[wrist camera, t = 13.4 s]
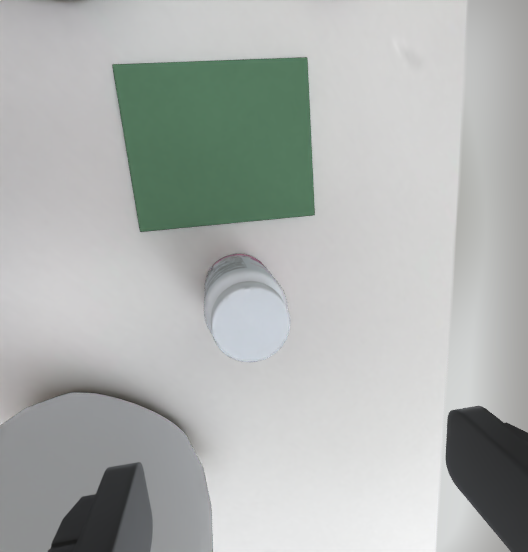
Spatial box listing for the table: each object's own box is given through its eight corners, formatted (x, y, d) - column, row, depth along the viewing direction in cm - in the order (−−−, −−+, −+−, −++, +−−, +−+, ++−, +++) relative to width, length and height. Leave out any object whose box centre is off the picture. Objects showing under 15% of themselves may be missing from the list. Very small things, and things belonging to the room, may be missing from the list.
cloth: (305, 59, 23) (307, 57, 22) (313, 214, 25) (314, 215, 25) (113, 66, 21) (112, 64, 21) (141, 231, 24) (139, 231, 23)
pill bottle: (282, 293, 26) (315, 338, 18) (228, 327, 26) (236, 387, 18) (248, 239, 25) (267, 261, 17) (191, 275, 25) (183, 314, 17)
